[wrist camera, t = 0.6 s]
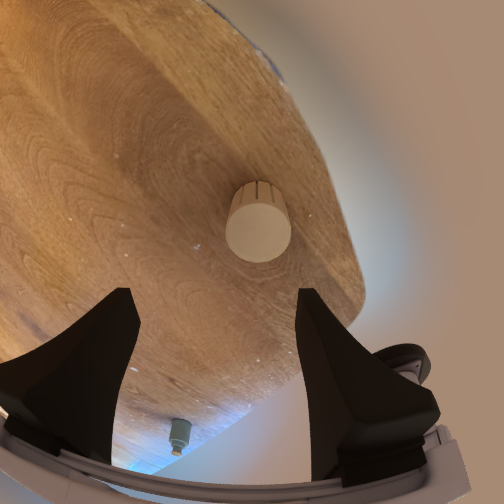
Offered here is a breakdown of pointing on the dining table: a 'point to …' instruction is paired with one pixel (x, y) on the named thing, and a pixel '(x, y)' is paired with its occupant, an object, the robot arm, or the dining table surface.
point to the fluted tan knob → (258, 223)
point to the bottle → (179, 436)
